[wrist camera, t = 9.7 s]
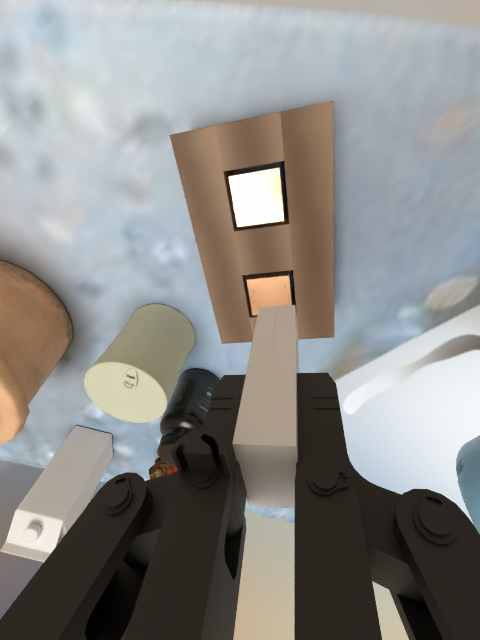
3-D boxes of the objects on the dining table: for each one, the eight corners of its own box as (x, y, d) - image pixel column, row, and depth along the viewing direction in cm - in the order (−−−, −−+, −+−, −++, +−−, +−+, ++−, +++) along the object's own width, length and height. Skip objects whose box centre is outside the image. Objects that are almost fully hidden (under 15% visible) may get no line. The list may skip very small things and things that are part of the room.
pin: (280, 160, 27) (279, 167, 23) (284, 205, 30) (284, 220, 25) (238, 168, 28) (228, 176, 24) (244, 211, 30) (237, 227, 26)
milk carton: (113, 454, 60) (52, 571, 45) (79, 445, 60) (5, 559, 45) (112, 433, 56) (44, 553, 41) (76, 424, 56) (-7, 541, 41)
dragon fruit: (157, 437, 58) (213, 453, 61) (139, 478, 57) (197, 492, 61) (158, 460, 50) (223, 477, 53) (137, 509, 49) (204, 522, 53)
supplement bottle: (231, 391, 46) (215, 465, 36) (196, 404, 49) (173, 476, 39) (204, 361, 43) (179, 432, 33) (169, 376, 46) (137, 446, 36)
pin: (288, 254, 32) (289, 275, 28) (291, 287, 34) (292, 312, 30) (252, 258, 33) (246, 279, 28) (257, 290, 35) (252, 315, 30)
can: (204, 320, 39) (176, 387, 29) (184, 366, 44) (155, 437, 34) (137, 292, 38) (84, 351, 28) (125, 343, 43) (76, 408, 33)
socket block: (324, 105, 25) (333, 100, 20) (327, 307, 36) (334, 337, 31) (190, 133, 28) (169, 134, 23) (230, 314, 38) (221, 343, 33)
